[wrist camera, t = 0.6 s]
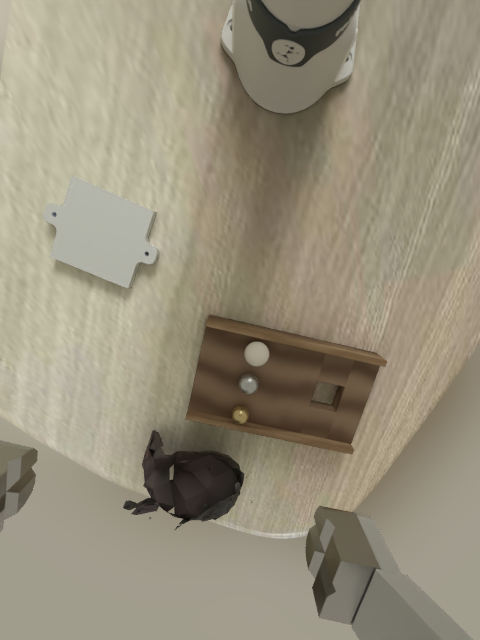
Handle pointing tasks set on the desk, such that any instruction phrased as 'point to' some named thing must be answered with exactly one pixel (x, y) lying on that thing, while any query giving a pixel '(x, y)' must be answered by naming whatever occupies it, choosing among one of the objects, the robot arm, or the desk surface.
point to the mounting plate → (101, 233)
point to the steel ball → (248, 383)
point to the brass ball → (240, 414)
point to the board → (282, 384)
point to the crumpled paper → (188, 483)
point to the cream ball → (256, 354)
